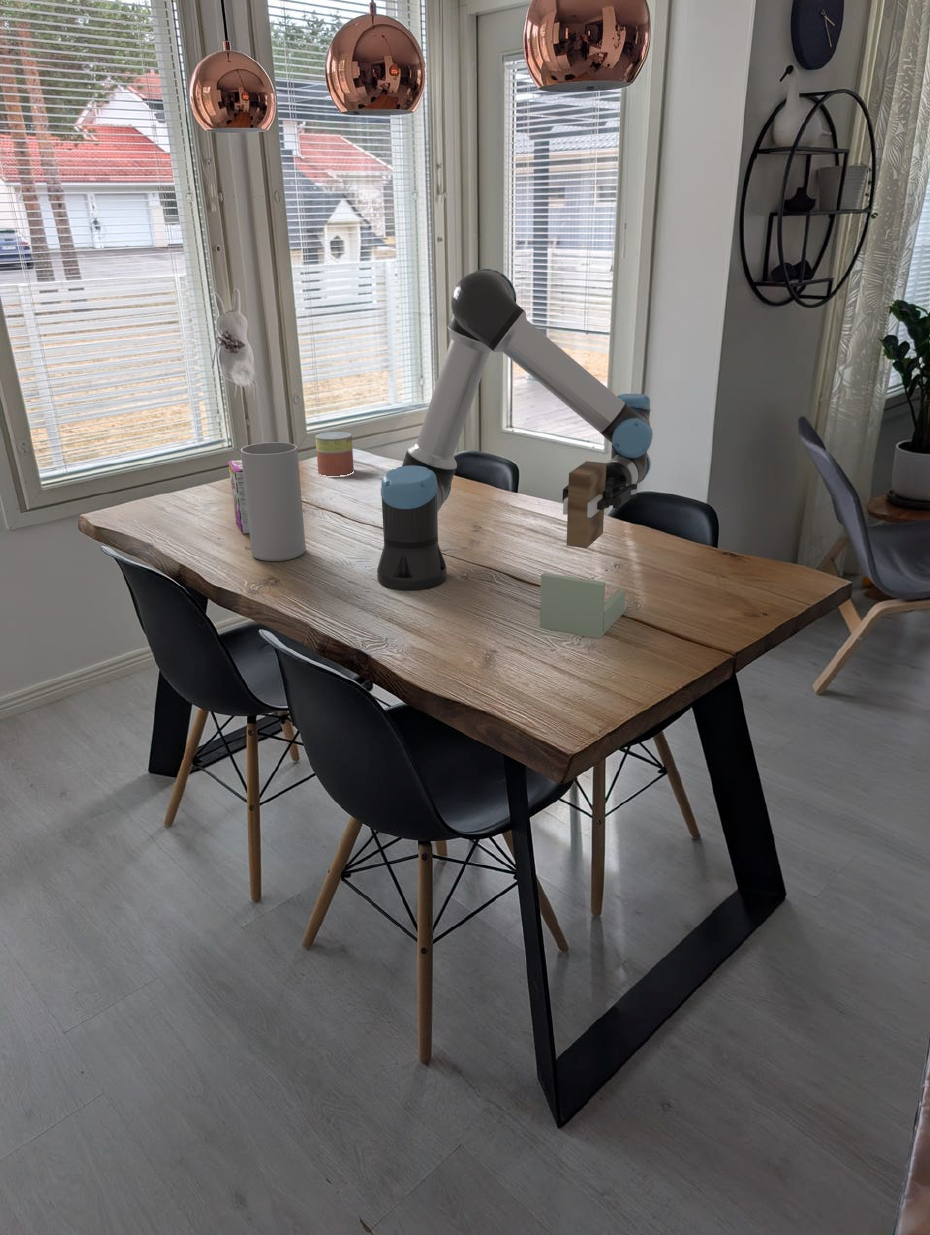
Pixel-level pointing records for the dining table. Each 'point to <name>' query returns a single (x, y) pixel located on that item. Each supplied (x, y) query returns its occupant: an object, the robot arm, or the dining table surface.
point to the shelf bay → (578, 605)
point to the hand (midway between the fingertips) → (577, 508)
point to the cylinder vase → (273, 500)
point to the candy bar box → (239, 495)
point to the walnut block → (585, 504)
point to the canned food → (334, 453)
